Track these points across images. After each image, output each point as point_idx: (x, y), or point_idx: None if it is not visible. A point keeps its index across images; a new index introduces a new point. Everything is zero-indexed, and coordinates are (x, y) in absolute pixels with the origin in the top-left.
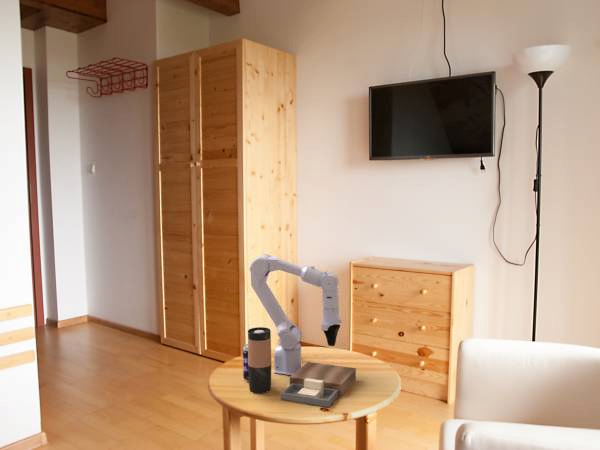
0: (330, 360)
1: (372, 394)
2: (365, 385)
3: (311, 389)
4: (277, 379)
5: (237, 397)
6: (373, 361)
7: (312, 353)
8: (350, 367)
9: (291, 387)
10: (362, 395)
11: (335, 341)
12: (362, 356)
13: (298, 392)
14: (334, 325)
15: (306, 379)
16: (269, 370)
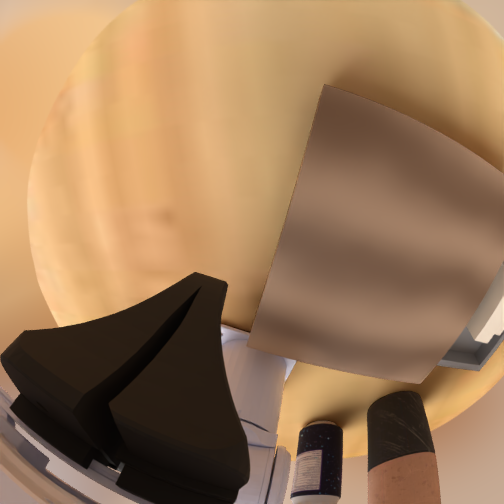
0: (104, 231)
1: (471, 56)
2: (390, 58)
3: None
4: (326, 389)
5: None
6: (86, 62)
7: (75, 292)
8: (315, 117)
9: (445, 357)
10: (486, 96)
11: (185, 286)
12: (51, 118)
13: (498, 333)
14: (77, 435)
15: (484, 337)
16: (425, 439)
